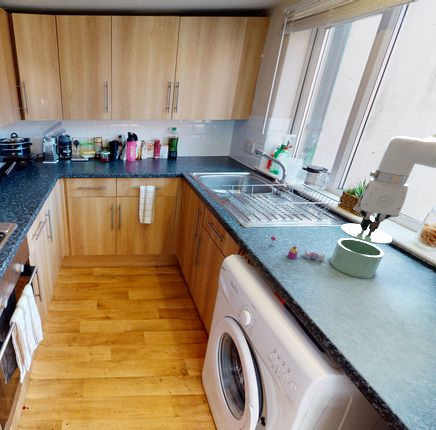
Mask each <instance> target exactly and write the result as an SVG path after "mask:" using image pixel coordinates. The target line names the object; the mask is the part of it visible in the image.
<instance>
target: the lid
mask: <svg viewBox="0 0 436 430" xmlns="http://www.w3.org/2000/svg"><path fill="white" fill-rule="evenodd" d="M374 218H375V217H373V215H371V217H370V224H369V226H371V228H370V229H369V226H368V228H367V230H366V231H363V229H362V228H361V226H360V224H359V223H345V224H342V225H341V227H340V230H341V231H342V232H343V233H344V234H345V235H347V236H348V237H351V238H352V239H356V240H361V241H364V242H367V243H370V244H373V245H388V244H391V243H392V241H393V237H392V236H391V235H389V234H388V233H386V232H384V231H383V230H381V229H379V228H378V229H376V230H375V232H373V229H374V227H377V225H378V222H377V221H376V220H375V219H374Z"/></svg>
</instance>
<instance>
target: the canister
mask: <svg viewBox="0 0 436 430" xmlns="http://www.w3.org/2000/svg"><path fill="white" fill-rule="evenodd" d="M384 254H385V252H384V251H383V250H382V248H380V247H378V246H376V244H373V243H369V242H365V241H361V240H358V239H356V238H352V237H351V238H346V237H345V238H344V237H343V238H340V239H338V240H337V242H336V245H335V247H334V250H333V252H332V255H331V257H330V260H329V262H330V264H331V266H332V267H333V268H335V269H336V270H337V271H339V272H341V273H344V274H345V275H348V276H352V277H355V278H361V279H371V278H372V277H374V276H375V273H376V271H377V270H378V267H379V266H380V263H381V261H382V259H383V257H384Z"/></svg>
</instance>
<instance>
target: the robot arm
mask: <svg viewBox="0 0 436 430" xmlns="http://www.w3.org/2000/svg"><path fill="white" fill-rule="evenodd" d="M415 165H418V166H424V167H427V168H428V167H429V168H433V169H436V133H435V134H433V135H430V136H428V137H425V138H423V139H422V138H417V137H412V136H395V137H392V138H390V140H389V142H388V144H387V146H386V149H385V151H384V153H383V156H382V158H381V160H380V162H379V165H378V168H377V169H376V170H375V171H371V172H370V173H369V177H372V178H370V180H369V181H368V182H367V184H366V186H365V187H364V189H363V190H362V192H361V194H360V196H359V199H358V201H357V203H356V204H355V205H354V206H353V208H352V209H353V210H354V211H355V212H356V213H359V214H360V215H361V216H362V219H361V222H360V224H359V225H360V226H361V228H362V229H363V231H366V230H367V228H368V227H369V229H370V228H371V226H370V217H371V216H372V214H373V213H374V214H376V215H375V217H373V218H374V219H375V220H376V221H377V222H378V225H377V227H374V229H373V232H375V230H376V229H378V230H379V227H380V224H381V223H382V222H384V221H386V220H387V219H390V218H396V217H399V216H400V213H401V211H402V210H403V209H402V208H403V207H404V204H405V201H406V197H407V195H408V190H409V184H407V181H408V179H409V177H410V175H411V173H412V171H413V168H414V166H415Z"/></svg>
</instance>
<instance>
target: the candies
mask: <svg viewBox="0 0 436 430" xmlns="http://www.w3.org/2000/svg"><path fill="white" fill-rule="evenodd" d="M276 239H277V237H276V236H275V235H272V236H271V237H270V240H271V243H270V246H271V247H272V246H273V242H274V241H276ZM297 248H298V247H297V246H296V243H295V242H294V245H293V246H292V247H291V248H290V249H289V250H288V253H287V257H288V258H289V259H291V260H294V259H297V257H298V253H299V250H298V249H297ZM303 257H304V258H307V257H309V258H310V259H311V260H317V259H318V260H320V261H322V262H324V260H325V254H324V253H321V254H319V253H318V252H317V251H311V252H310V251H308V250H307V249H306V250H304V255H303Z"/></svg>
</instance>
